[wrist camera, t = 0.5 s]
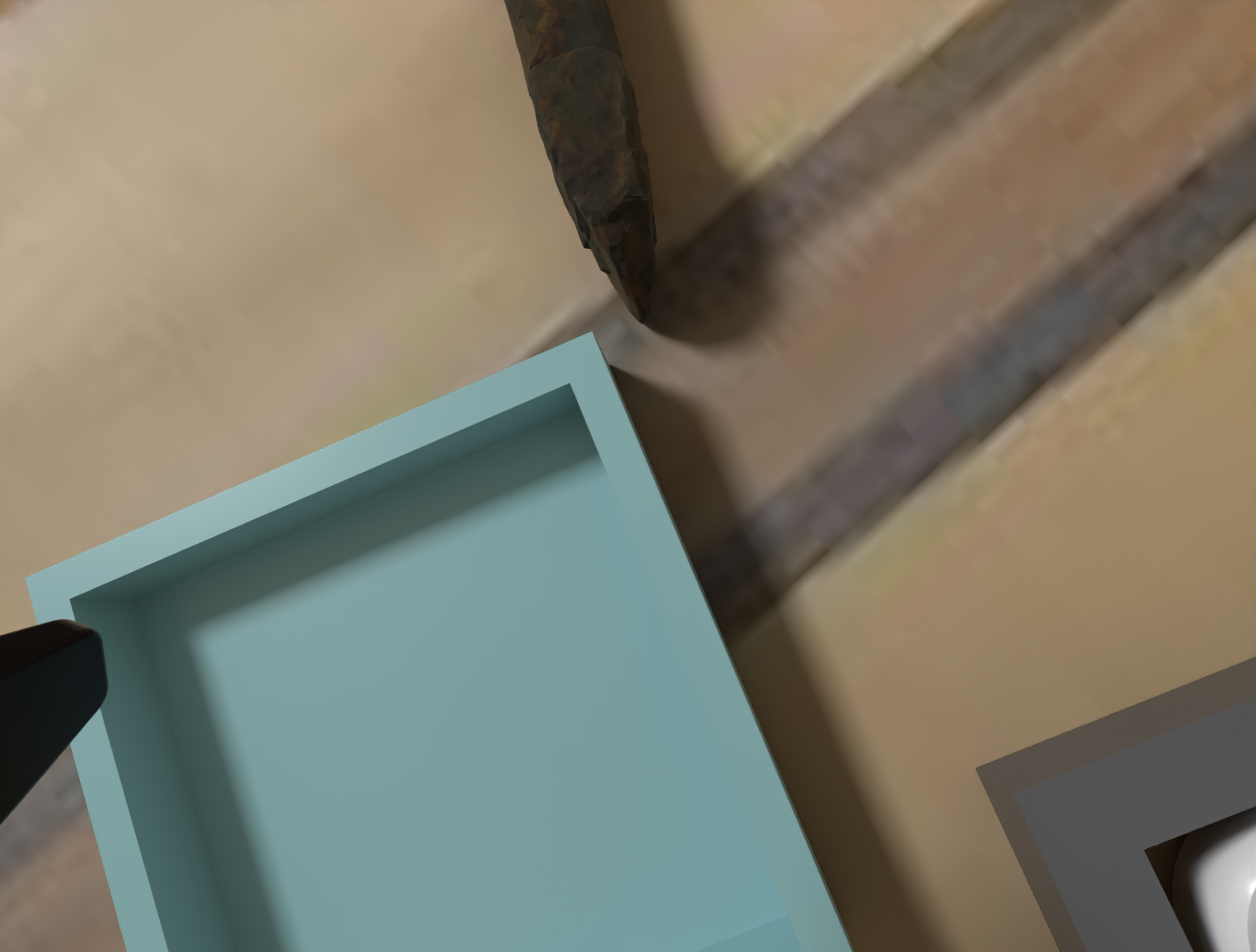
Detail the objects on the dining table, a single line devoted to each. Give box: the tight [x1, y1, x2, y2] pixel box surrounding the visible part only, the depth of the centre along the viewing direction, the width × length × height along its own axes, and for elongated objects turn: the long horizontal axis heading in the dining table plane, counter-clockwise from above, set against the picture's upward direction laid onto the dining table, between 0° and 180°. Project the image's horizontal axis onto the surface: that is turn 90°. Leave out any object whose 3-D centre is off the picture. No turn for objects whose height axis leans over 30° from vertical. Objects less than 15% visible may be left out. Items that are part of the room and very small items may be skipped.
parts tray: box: [25, 331, 854, 952], centre depth 22 cm, size 16×16×3 cm
